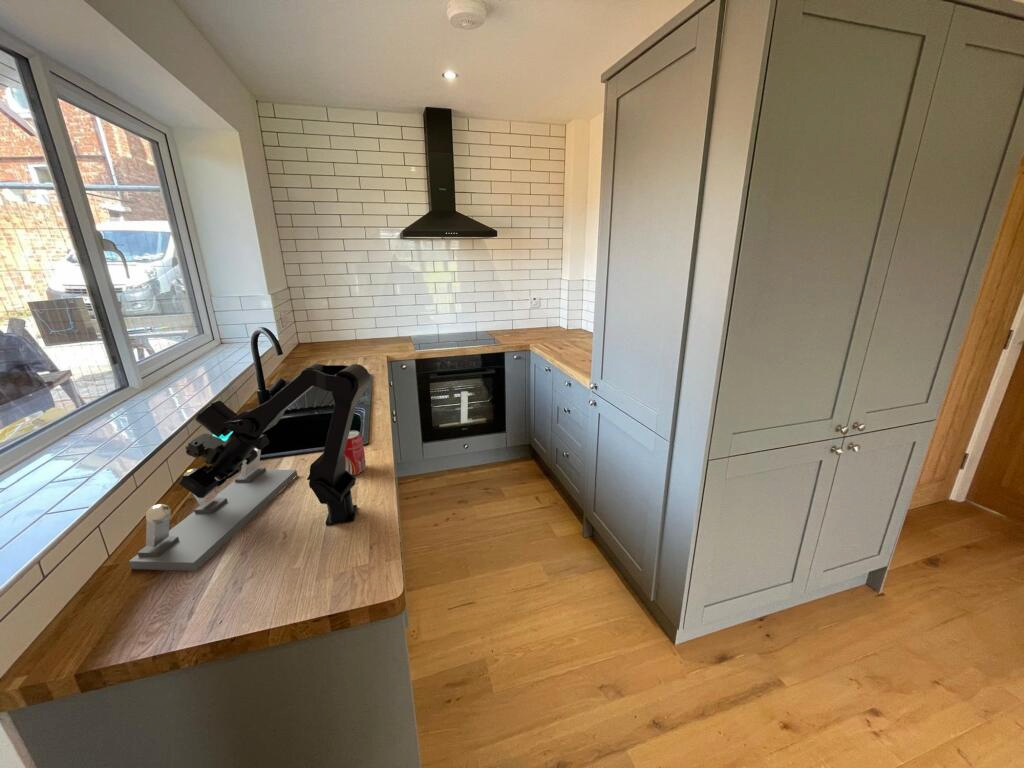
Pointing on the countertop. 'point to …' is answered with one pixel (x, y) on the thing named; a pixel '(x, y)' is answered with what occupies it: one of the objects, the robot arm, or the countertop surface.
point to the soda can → (354, 453)
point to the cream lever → (157, 524)
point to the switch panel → (214, 522)
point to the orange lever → (207, 497)
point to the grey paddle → (248, 468)
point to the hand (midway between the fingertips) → (205, 488)
